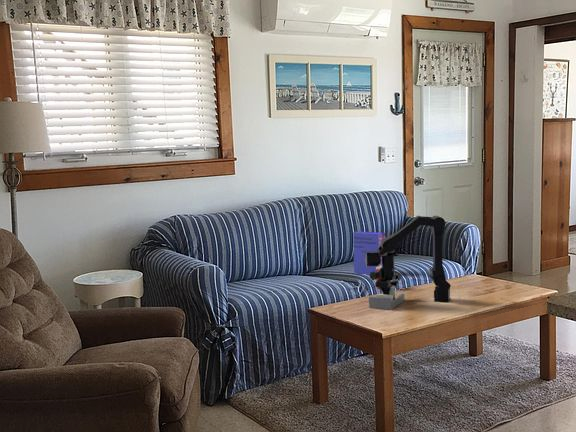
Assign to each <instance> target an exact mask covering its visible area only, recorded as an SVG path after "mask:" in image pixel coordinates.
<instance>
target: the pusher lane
mask: <svg viewBox="0 0 576 432" xmlns="http://www.w3.org/2000/svg"><path fill="white" fill-rule="evenodd" d="M405 300H406V299H405V293H401V294H399V295H398V296H396V297H395V299H394V300H392V298H382V297H377V296H369V297H368V308H370V309H378V310H389V311H391V310H393V309H394V308H395V307H397V306H398V305H399V304H401V303H402V302H403V301H405Z"/></svg>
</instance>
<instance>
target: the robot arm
mask: <svg viewBox="0 0 576 432" xmlns="http://www.w3.org/2000/svg"><path fill="white" fill-rule="evenodd" d="M421 226H427V227H430V230H431V234H432V251H433V252H432V261H433V262H432V268H430V267H429V268H428V270H429V271H428V272H429V275H428V277H429V278H430V280H431V282H432V283H433V284H434V285H435V287H434V290H433V301H434V302H439V303H440V302H442V303H449V301H451V299H452V298H451V286H452V285H451V284H450V282H449V281H447V277H446V273H445V272H446V271H445V269H444V266H443V264H444V263H443V235H444V233H445V227H446V221H445V219H444V218H443V217H442V216H439V215H433V216H421V215H416V216H415V217H414V218H413V219H412V220H410V221H409V222H408V223H407V224H406V225H404V226H402V228H400V229H398V230H397V231H396V232H395V233H393V234H390V235H388V236H385V238H384V239H383V240H382V241H381V245H380V247H379V248H378V250H377V252H366V258H365V263H366V266H379V265H380V264H381V257H382V268H380V271H377V272H375V271H373V272H370V275H369V277H368V278H369V279H371V281H375V283H374V287H375V288H377V287H379V288H380V289H381V293H382V292H383V294H385V295H389V294H390V290H391V287H392V286H390V285H395V290H396V289H397V286H398V284H399V282H400V281H401V279H402V278H401V277H402V276H401V274H400V273H395V270H396V269H397V268H396V266H395V257H398V256H399V254H398V253H397V252H396V251H395V249H396V248H397V246H399V244H400V243H401V241H402V240H404V239H405V238H406V237H407V236H409V235H410V234H412V233H413V232H414V231H416V229H418V228H419V227H421ZM378 278H380V279H379V280H378V281H376V279H378ZM382 279H383V280H382ZM380 289H379V290H380Z"/></svg>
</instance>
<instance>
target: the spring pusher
mask: <svg viewBox="0 0 576 432" xmlns="http://www.w3.org/2000/svg"><path fill="white" fill-rule="evenodd" d="M376 297H382V298H392V300H393V295H385V294H382V293H377V294H376Z"/></svg>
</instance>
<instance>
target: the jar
mask: <svg viewBox="0 0 576 432" xmlns="http://www.w3.org/2000/svg"><path fill="white" fill-rule="evenodd" d="M390 286H392V287H391V290H390V294H389V295H393V300H394V299H395V298H396V292H395V291H396V289H395V285H390ZM381 294H383V292H382V291H381Z"/></svg>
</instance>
